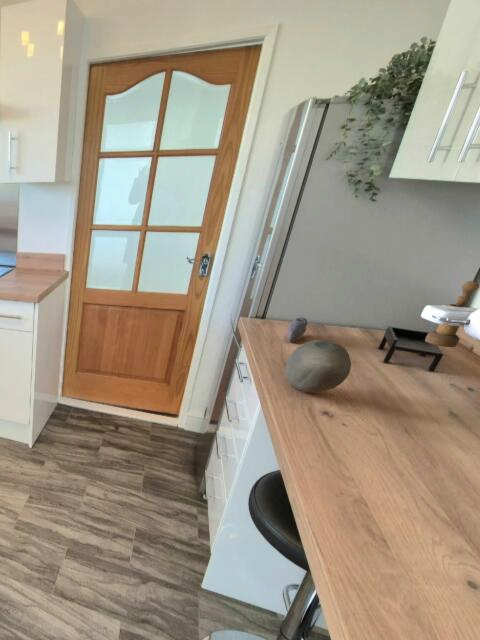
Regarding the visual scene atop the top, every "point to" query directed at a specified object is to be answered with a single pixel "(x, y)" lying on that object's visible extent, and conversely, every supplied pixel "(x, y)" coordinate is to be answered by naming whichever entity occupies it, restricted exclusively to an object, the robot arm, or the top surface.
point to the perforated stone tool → (296, 329)
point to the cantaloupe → (318, 366)
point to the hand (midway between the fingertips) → (455, 309)
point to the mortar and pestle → (447, 333)
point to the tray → (410, 344)
